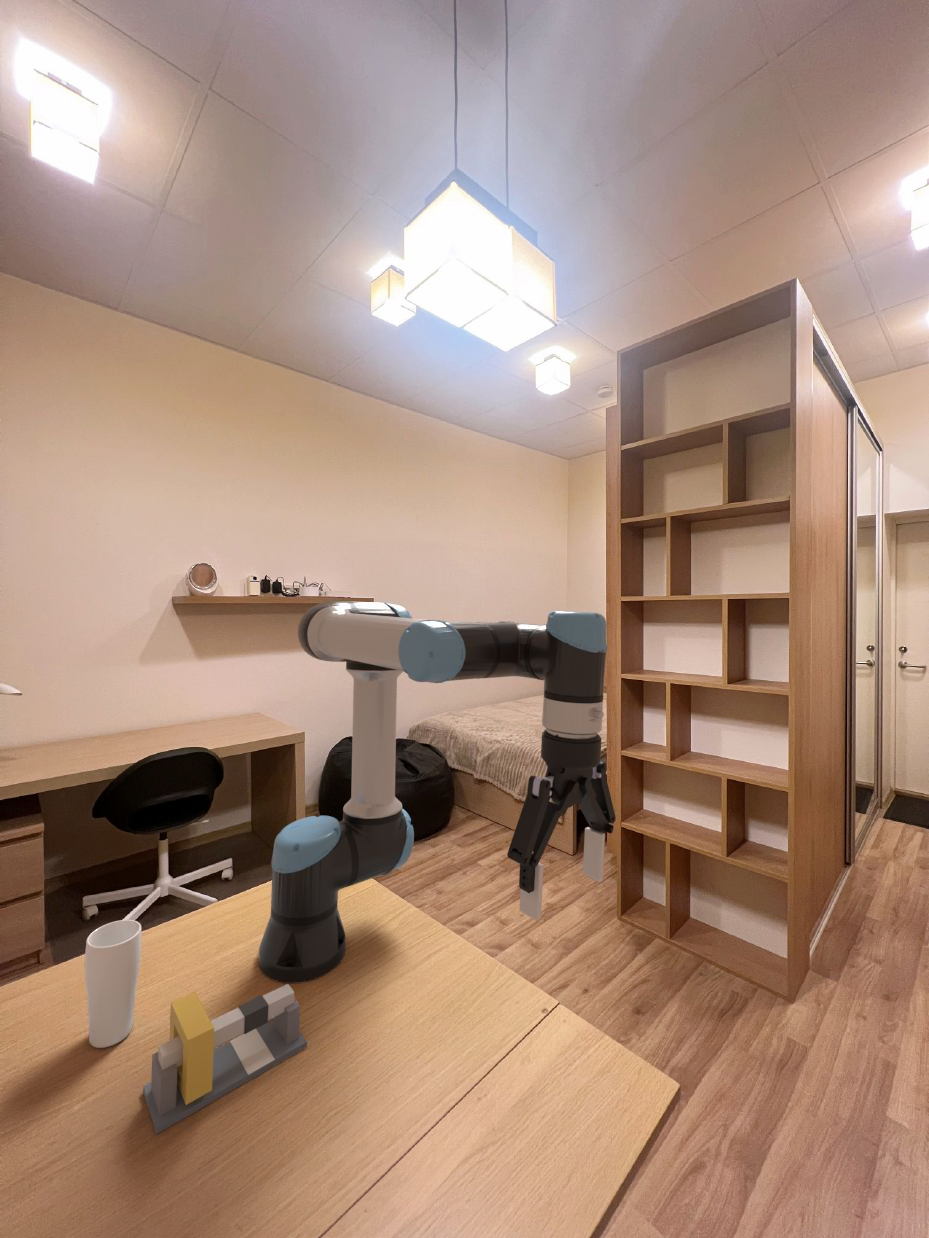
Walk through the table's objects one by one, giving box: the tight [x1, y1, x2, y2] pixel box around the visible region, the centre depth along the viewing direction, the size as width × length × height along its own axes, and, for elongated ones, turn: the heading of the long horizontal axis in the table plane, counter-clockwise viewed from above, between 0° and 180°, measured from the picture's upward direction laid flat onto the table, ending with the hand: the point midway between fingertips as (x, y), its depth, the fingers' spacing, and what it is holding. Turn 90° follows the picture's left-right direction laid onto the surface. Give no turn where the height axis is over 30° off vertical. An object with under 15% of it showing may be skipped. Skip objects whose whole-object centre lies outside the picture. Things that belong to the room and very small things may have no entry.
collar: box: [169, 991, 215, 1105], centre depth 67 cm, size 8×3×8 cm, turn 43°
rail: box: [142, 983, 308, 1135], centre depth 70 cm, size 7×19×7 cm, turn 133°
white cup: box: [84, 919, 143, 1049], centre depth 75 cm, size 7×7×15 cm
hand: (563, 895), depth 66 cm, fingers open, 13 cm apart
